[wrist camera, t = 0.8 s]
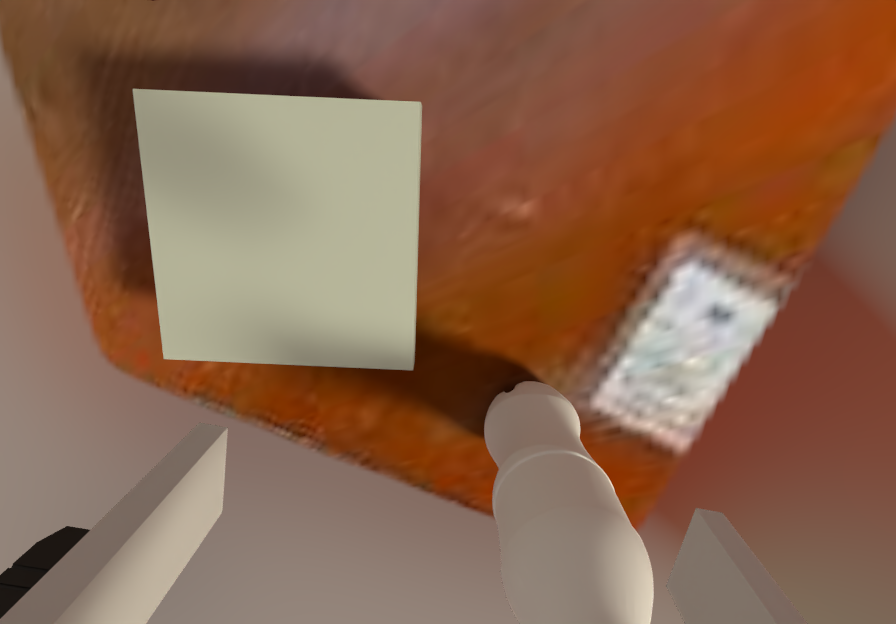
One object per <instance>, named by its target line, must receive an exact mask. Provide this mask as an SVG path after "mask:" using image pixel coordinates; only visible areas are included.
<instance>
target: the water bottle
mask: <svg viewBox="0 0 896 624" xmlns="http://www.w3.org/2000/svg"><path fill="white" fill-rule="evenodd" d="M484 436H485V442H486V446H487V448H488V451H489V453H490V455H491V456H492V458H493V459H494V461H495V463H496V464H497V466H498V468H499V471H498V474H497V476H496V479H495V483H494V488H493V498H492V502H493V512H494V517H495V519H496V522H497V528H498V535H499V544H500V552H501V570H500V571H501V579H502V584H503V588H504V592H505V595H506V598H507V601H508V603H509V606H510V608H511V610H512V612H513V613H514V616H515V617H516V619H517V621H518V622H519V624H650V621H651V615H652V605H653V596H654V594H653V574H652V569H651V564H650V560H649V557H648V553H647V551H646V549H645V546H644V544H643V541H642V539H641V537H640V536H639V534H638V533H637V532H636V530H635V529H634V528H633V527H632V525H631V523H630V521H629V519H628V517H627V515H626V513H625V511H624V510H623V508H622V506H621V504H620V502H619V500H618V498H617V496H616V494H615V490H614V487H613V485H612V483H611V481H610V479H609V478H608V476H607V475H606V473H605V472H604V471H603V470H602V469H601V468H600V467H599V466H598V465H597V464H596V463H595V461H594V460H593V459H592V458H591V457H590V455H589V454H588V452H587V451H586V450H585V448H584V446H583V445H582V443H581V441H580V438H579V436H580V421H579V418H578V415H577V413H576V411H575V409H574V407H573V406H572V404H571V403H570V402H569V401H568V400H567V399H566V398H565V397H564V396H563V395H561V394H560V393H559V392H558V391H557V390H556V389H554V388H553V387H551V386H549V385H547V384H544V383H541V382H535V381H524V382H522V383H519V384H517V385H516V386H515V388H514V389H513V390H512V391H511V392H509V393H505V392H504V391H503V392H502V393H500V394H498V395H497V396H496V397H495V399H494V400H493V401H492V403H491V405H490V406H489V409H488V412H487V414H486V418H485V424H484Z"/></svg>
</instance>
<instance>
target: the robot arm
mask: <svg viewBox="0 0 896 624" xmlns="http://www.w3.org/2000/svg"><path fill="white" fill-rule="evenodd" d="M227 430H228V427H222V426H216V425H211V424H205V423H199V424H198V425H197V426H196V427H195V428H194V429H193V430H192V431H190V432H189V434H188V435H187V436H185V437H184V438H183V439H182V440H181V441H180V442H179V443H178V444H177V445H176V446H175V447H174V448H173V449H172V450H171V451H170V452H169V453H168V454H167V455H166V456H165V457H164V458H163V459H162V460H161V461H160V462H159V463H158V464H157V465H156V466H155V467H154V468H153V469H152V470H151V471H150V472H149V473H148V474H147V475H146V476H145V477H144V478H143V479H142V480H141V481H140V482H139V483H138V484H137V485H136V486H135V487H134V488H133V489H132V490H131V491H130V492H129V493H128V494H127V495H126V496H125V497H124V498H122V499H121V500H120V502H118V503H117V504H116V505H115V506H114V507H113V508H112V509H111V510H110V511H109V512H108V513H107V514H106V515H105V516H104V517H103V518H102V519H101V520H100V521H99V522H98V523H97V524H96V525H95V526H94V527H93V528H92V529H91V530H88V529H82V528H75V527H69V526H66V527H65V528H63V529H61V530H59V531H57V532H55V533H54V534H52V535H50V536H48V537H46V538H44V539H42V540H41V541H39V542H37V543H36V544H35V545H34V546H32V547H31V548H30V549H29V550H28V551H27V552H26V553H25V554H23V555H22V556H21V557H20V558H19V559H18V560H17V561H16V562H14V563H13V566H12V568H8V569H7V570H6V571H4V572H3V573H2V574H1V575H0V624H146V623H147V621H148V619H149V618H150V617H151V615H152V614H153V612H154V611H155V609H156V608H157V606H158V605H159V604H160V602H161V601H162V599H163V598H164V596H165V595H166V593H167V592H168V590H169V589H170V588H171V586H172V585H173V583H174V582H175V580H176V579H177V577H178V576H179V574H180V573H181V571H182V570H183V569H184V567H185V566H186V564H187V563H188V561H189V560H190V558H191V557H192V555H193V554H194V552H195V551H196V550H197V548H198V547H199V545H200V544H201V542H202V541H203V539H204V538H205V536H206V535H207V533H208V532H209V530H210V529H211V528H212V526H213V525H214V523H215V522H216V520H217V519H218V517H219V516H220V515H221V513H222V509H223V508H222V507H223V493H224V478H225V462H226V447H227V432H228V431H227ZM666 587H667V589H668V591H669V593H670V595H671V597H672V599H673V601H674V603H675V605H676V607H677V609H678V611H679V613H680V615H681V617H682V619H683V621H684V623H685V624H807V622H806V621H805V620H804V618H803V617H802V616H801V614H800V613H799V612H798V610H797V609H796V608H795V607H794V605H793V604H792V603H791V601H790V600H789V599H788V597H787V596H786V595H785V594H784V592H783V591H782V590H781V588H780V587H779V586H778V584H777V583H776V582H775V581H774V579H773V578H772V577H771V575H770V574H769V573H768V572H767V570H766V569H765V567H764V566H763V565H762V564H761V562H760V561H759V560H758V558H757V557H756V556H755V554H754V553H753V552H752V551H751V549H750V548H749V547H748V545H747V544H746V543H745V542H744V540H743V539H742V538H741V536H740V535H739V534H738V532H737V531H736V530H735V528H734V527H733V526H732V525H731V523H730V522H729V521H728V519H727V518H726V517H725V515H724V514H723V513H721V512H715V511H709V510H704V509H698V508H696V510H695V512H694V515H693V518H692V520H691V523H690V525H689V528H688V530H687V533H686V536H685V538H684V541H683V543H682V546H681V549H680V551H679V554H678V556H677V559H676V562H675V564H674V567H673V569H672V572H671V575H670V577H669V579H668V582H667V585H666Z"/></svg>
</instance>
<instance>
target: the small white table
mask: <svg viewBox="0 0 896 624" xmlns="http://www.w3.org/2000/svg"><path fill="white" fill-rule="evenodd" d="M133 98H134V106H135V115H136V124H137V132H138V141H139V149H140V158H141V167H142V175H143V184H144V192H145V201H146V210H147V218H148V227H149V236H150V244H151V253H152V261H153V270H154V279H155V287H156V296H157V304H158V313H159V322H160V330H161V339H162V347H163V356H164V359H176V360H198V361H220V362H241V363H263V364H285V365H306V366H328V367H350V368H371V369H393V370H413V368H414V363H415V336H416V301H417V265H418V230H419V194H420V159H421V124H422V105H421V102H410V101H388V100H367V99H345V98H323V97H301V96H280V95H258V94H236V93H214V92H193V91H171V90H149V89H133Z"/></svg>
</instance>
